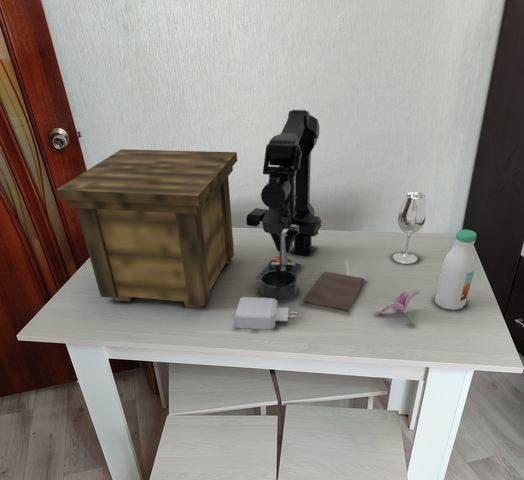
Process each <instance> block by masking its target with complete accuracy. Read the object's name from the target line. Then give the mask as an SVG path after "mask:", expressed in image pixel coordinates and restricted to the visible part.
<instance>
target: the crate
mask: <svg viewBox="0 0 524 480" xmlns="http://www.w3.org/2000/svg"><path fill="white" fill-rule="evenodd" d="M237 162H238V152H237V151H202V150H198V151H197V150H195V151H194V150H164V149H163V150H161V149H124V148H123V149H122V148H121V149H119V150H117V151H116V152H114V153H113V154H111V155H109V156H108V157H106V158H105V159H103V160H101V161H100V162H98V163H96V164H95V165H93V166H92V167H90V168H88V169H87V170H85V171H83V172H82V173H80V174H79V175H78V176H76V177H74V178H72V179H71V180H69V181H68V182H66V183H64V184H63V185H61V186H59V187H58V188H56V189H55V191H56V194H57V198H58V200H60V201H62V200H63V201H66V203H67V207H68V208H69V209H70V208H72V209H75V210H76V212H77V213H76V214H77V216H78V220H79V222H80V227H81V231H82V234H83V237H84V242H85V246H86V249H87V253H88V255H89V260H90V263H91V266H92V270H93V273H94V278H95V281H96V285H97V288H98V292H99V295H100V297H101V298H110V299H111V298H112V299H113V301H118V302H131V301H132V299H134V298H139V299H151V300H162V301H173V302H174V301H175V302H183V305H184V307H187V308H198V309H199V308H200V309H201V308H202V307H204V306H207V304H208V302H209V300H210V298H211V290H212V288H213V286H214V284H215V283H216V281H217V279H218V277H219V276H220V273H221V272H222V270H223V268H224V267H225V265H226V263H229V262H232V260H233V258H234V256H235V250H234V249H235V248H234V235H233V223H232V208H231V197H230V181H229V176H230V175H231V174H232V172H233V171H234V168H233V167H234V165H236V163H237Z"/></svg>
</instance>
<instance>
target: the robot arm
mask: <svg viewBox="0 0 524 480" xmlns="http://www.w3.org/2000/svg"><path fill="white" fill-rule="evenodd" d="M287 116H288V117H287V119H286V122H285V124H284V126H283V127H282V129H281V132H280V134H276V135H274V136H272V138H270V140H269V142H268V144H266V146H265V153H264V159H263V160H264V161H263V167H262V175H268V181H267V183H266V184H265V185H264V187H263V188H262V190H261V193H260V199H261V201H262V203H263V204H264V206H266V207H267V208H268V209H264V208H257V207H255V208H254V209H253V210H252V211H250V212H249V213H248V214H247V215H246V218H245V219H246V226H249V227H255V228H257V227H258V226H259V225H260V224H262V227H263V228H262V230H263V231H264V233H269V235H270V236H271V238H272V240H273V244H274V246H275V248H276V250H277V252H279V234H280V233H283V231H284V230H286V231H285V233H286V235H287V244H286V252H287V253H288V254H289V253H290V254H293V255H294V254H295V255H299V256H300V255H301V256H305V257H308V256H310V255H311V254H312V252H313V251H314V250H315V248H316V247H315V246H313V245H312V238H313V237H314V238H315V237H316V236H317V235H319V230H320V229H321V228H322V220H321V218H320V216H315V208H314V207H313V206H312V204H311V202H310V199H311V196H310V195H311V167H312V166H311V164H312V151H313V149H314V148H315V146H316V145H317V143H318V139H319V137H320V123H319V119H318V118H316V117H314V116H313V115H311V114H310V111H308V110H306V109H292V110H289V111H288V115H287ZM292 246H293V247H292Z"/></svg>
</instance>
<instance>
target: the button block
mask: <svg viewBox="0 0 524 480" xmlns="http://www.w3.org/2000/svg"><path fill="white" fill-rule="evenodd" d="M274 259H275V258H274ZM274 259H271V260H270V261H269V263H268V265H267V266H266V267H265V268H264V269H263V270H262V272H261V273H260V276H262V275H263V274H264V273H266V272H268V271H272V270H275V265H271V263H272V262H274ZM288 262H293V260H291V259H290V258H288ZM299 268H301V263H300V262H299V263H298V262H296V265H292V270H291V271H289V272H292V273H293V274H295V273H296V272H297V271H298V270H299Z"/></svg>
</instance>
